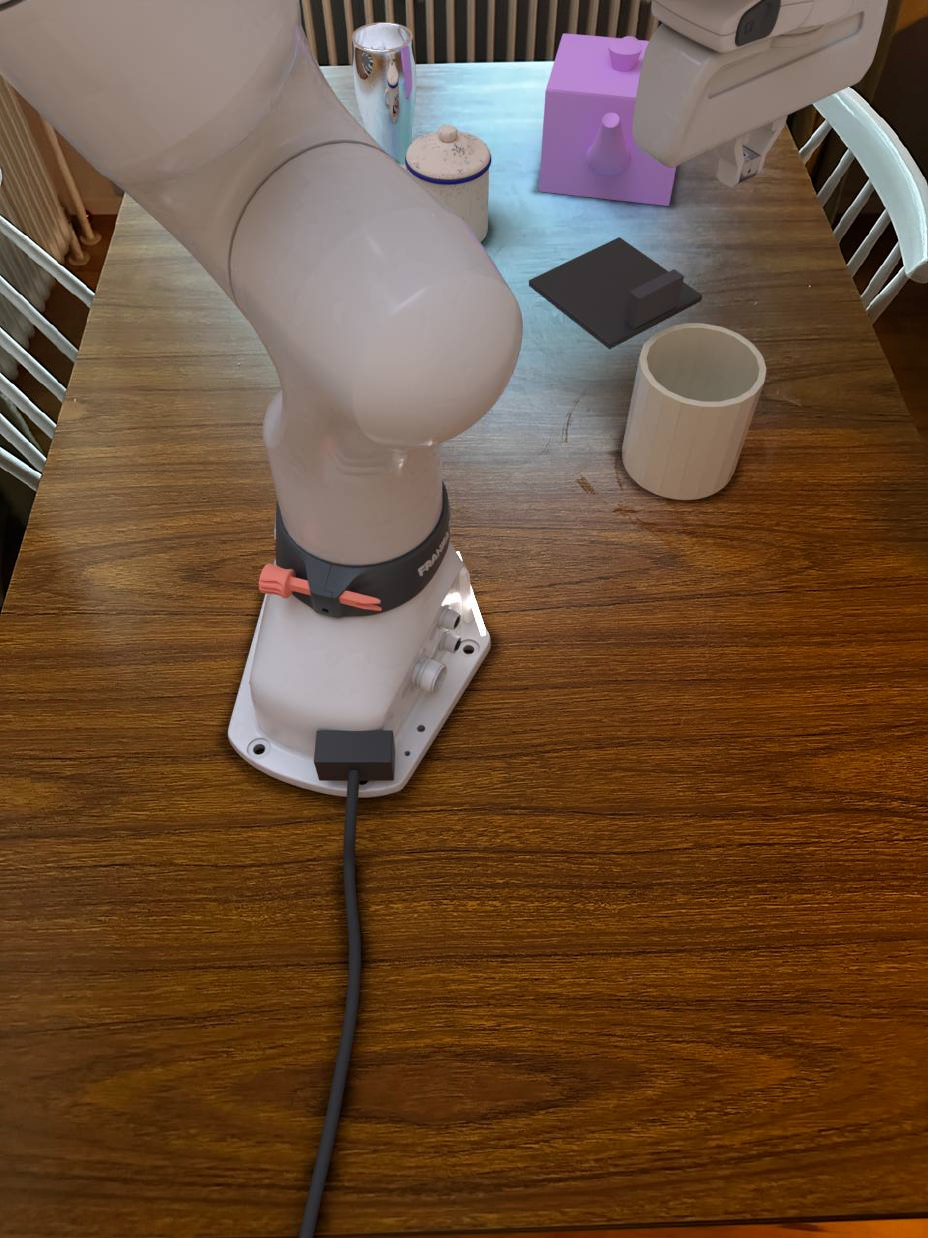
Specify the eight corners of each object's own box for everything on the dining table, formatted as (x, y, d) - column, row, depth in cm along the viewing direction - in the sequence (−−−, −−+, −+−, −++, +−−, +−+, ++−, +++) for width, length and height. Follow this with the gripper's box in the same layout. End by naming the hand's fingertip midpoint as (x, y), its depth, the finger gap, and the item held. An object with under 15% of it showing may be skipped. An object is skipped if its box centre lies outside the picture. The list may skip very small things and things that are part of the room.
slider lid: (701, 301, 82) (710, 264, 79) (609, 349, 78) (615, 313, 75) (618, 242, 87) (624, 205, 84) (528, 285, 83) (530, 249, 80)
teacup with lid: (493, 210, 109) (496, 107, 100) (485, 258, 104) (487, 155, 94) (390, 204, 110) (382, 101, 100) (377, 251, 105) (368, 147, 95)
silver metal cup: (353, 162, 115) (340, 28, 103) (406, 149, 117) (399, 15, 104) (374, 192, 111) (363, 56, 99) (429, 178, 113) (425, 43, 101)
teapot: (528, 226, 107) (536, 100, 96) (560, 113, 121) (570, -9, 110) (663, 242, 106) (688, 115, 94) (679, 125, 120) (702, 3, 108)
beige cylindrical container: (758, 466, 86) (792, 371, 77) (676, 517, 83) (702, 424, 74) (679, 404, 91) (702, 307, 82) (598, 450, 87) (614, 354, 78)
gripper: (861, -92, 64) (803, 114, 75) (632, -7, 57) (606, 205, 69) (937, -61, 61) (865, 149, 73) (706, 33, 54) (666, 247, 66)
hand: (737, 177), depth 71 cm, fingers closed
